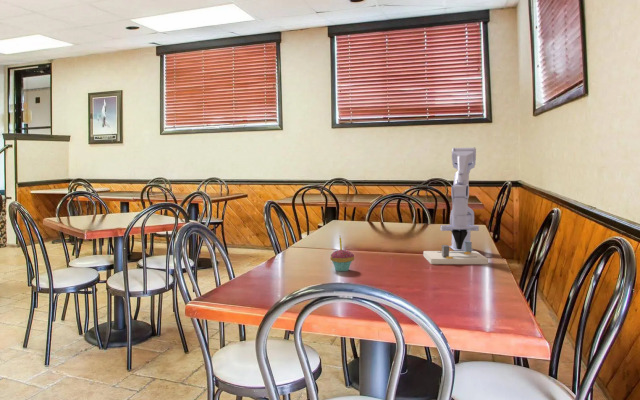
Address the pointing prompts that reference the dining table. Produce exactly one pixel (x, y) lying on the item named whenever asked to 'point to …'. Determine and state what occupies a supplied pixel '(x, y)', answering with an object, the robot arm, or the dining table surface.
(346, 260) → the cupcake
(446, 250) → the gray tab
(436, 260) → the switch board
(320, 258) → the dining table surface
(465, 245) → the grey rectangular block
